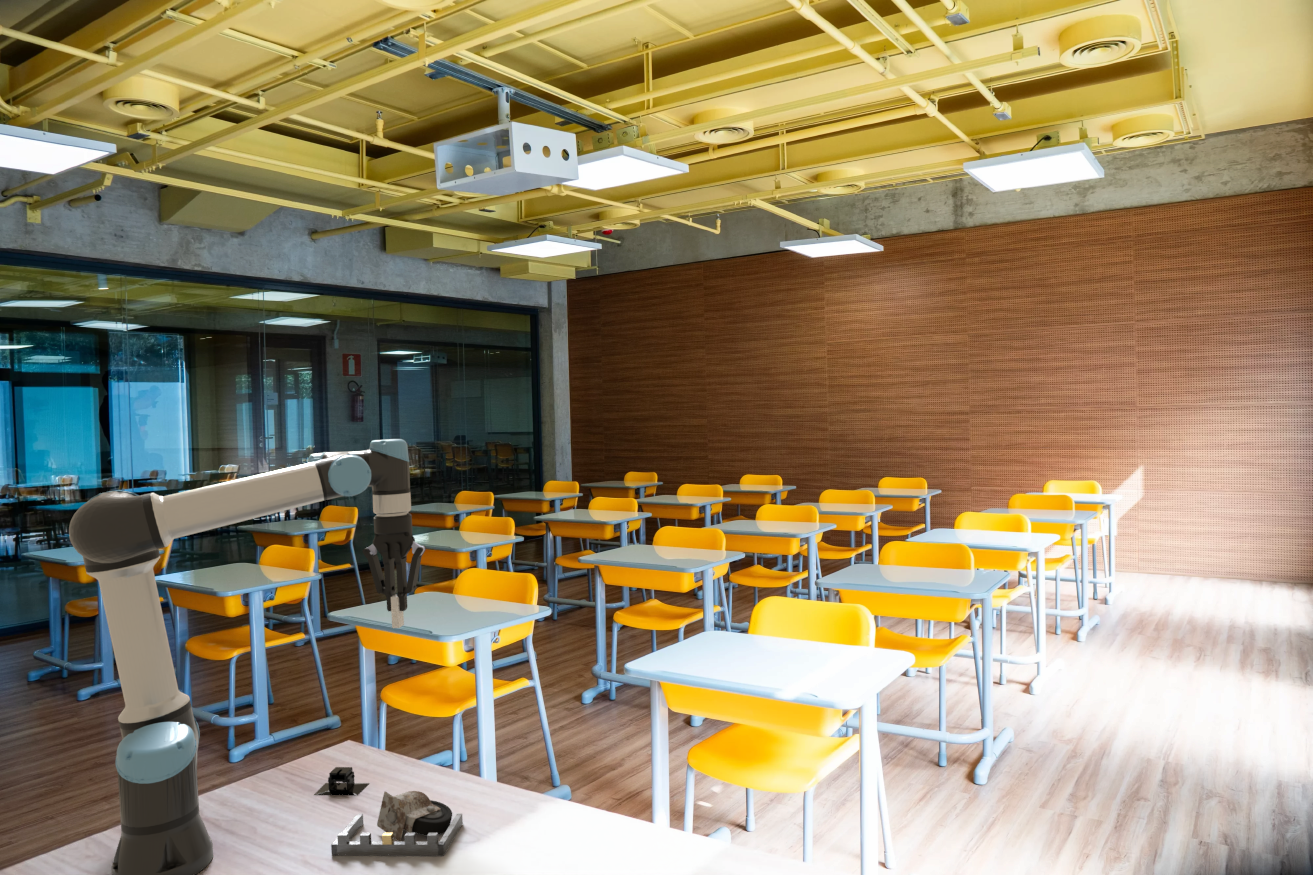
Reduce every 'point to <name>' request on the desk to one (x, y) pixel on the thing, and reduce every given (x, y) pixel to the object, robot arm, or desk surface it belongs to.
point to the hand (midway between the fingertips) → (398, 626)
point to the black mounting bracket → (343, 788)
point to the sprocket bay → (392, 842)
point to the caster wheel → (413, 814)
